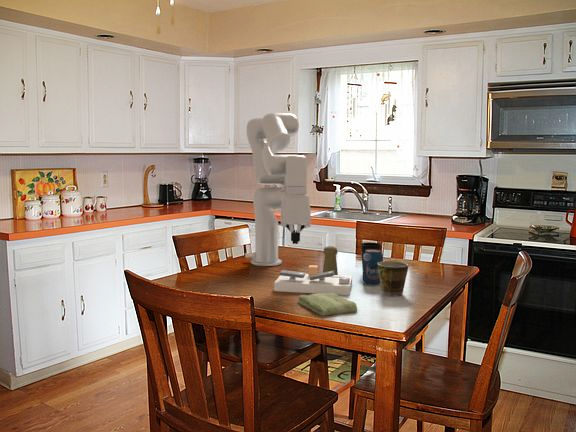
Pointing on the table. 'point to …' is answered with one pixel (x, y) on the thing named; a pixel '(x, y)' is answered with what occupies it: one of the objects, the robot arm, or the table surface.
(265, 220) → the robot arm
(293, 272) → the rocker left
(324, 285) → the panel
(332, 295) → the washcloth
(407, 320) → the table surface
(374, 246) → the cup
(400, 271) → the ceramic cup
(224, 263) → the table surface
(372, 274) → the soda can
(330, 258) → the brown upright piece
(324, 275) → the rocker right
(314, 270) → the fader knob
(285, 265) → the table surface
